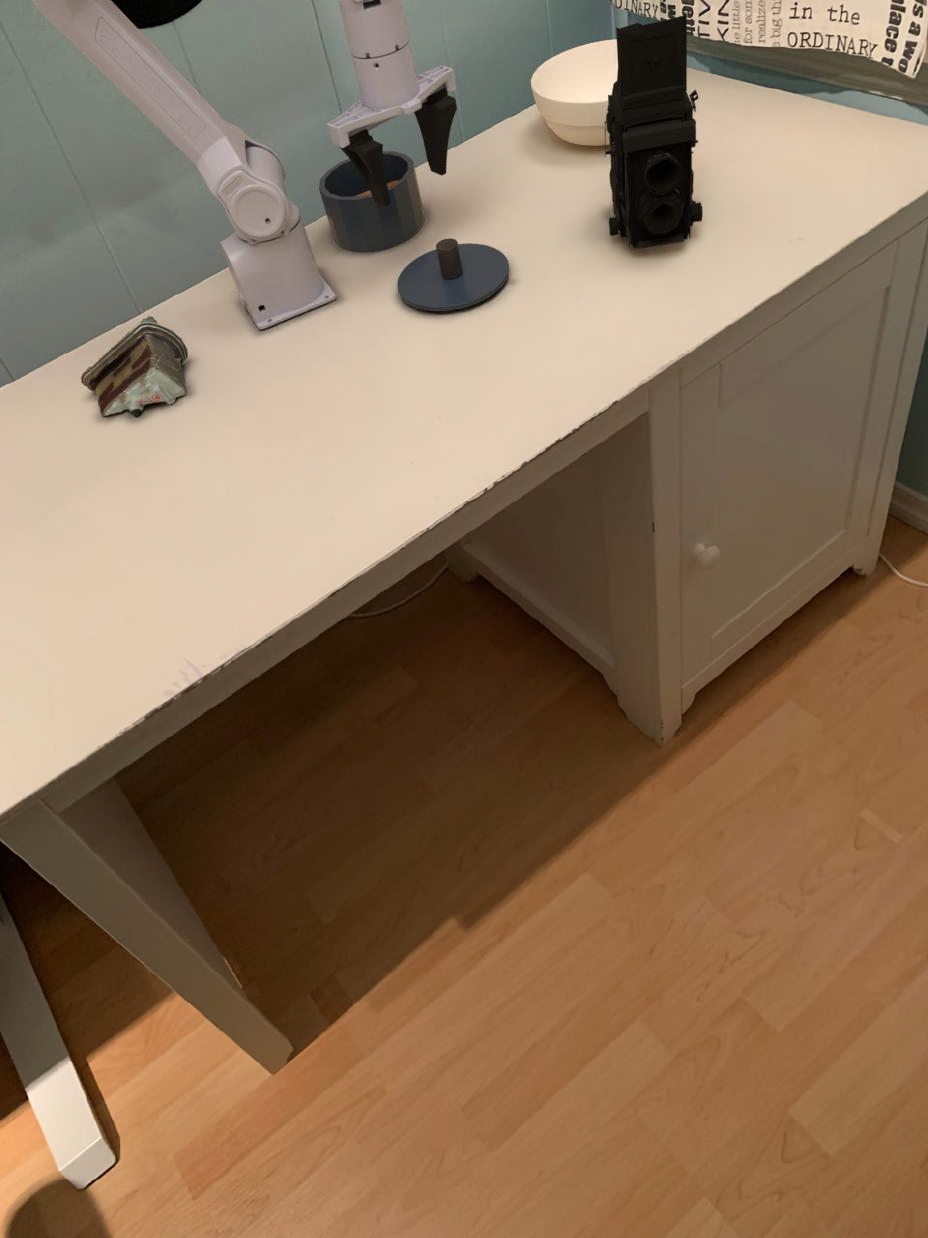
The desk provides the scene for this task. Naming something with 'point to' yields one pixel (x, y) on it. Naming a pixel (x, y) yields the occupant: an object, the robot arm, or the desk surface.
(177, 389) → the chocolate cake
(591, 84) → the bowl
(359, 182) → the pot
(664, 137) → the camera
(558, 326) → the desk surface
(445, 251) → the lid
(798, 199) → the desk surface
